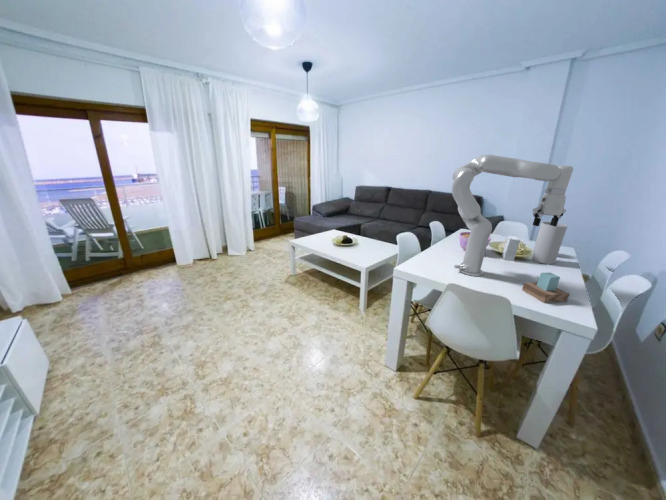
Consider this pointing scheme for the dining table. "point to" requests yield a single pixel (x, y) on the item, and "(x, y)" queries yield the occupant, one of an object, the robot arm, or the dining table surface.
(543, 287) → the teal block
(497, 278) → the dining table surface
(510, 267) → the dining table surface
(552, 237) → the cylinder vase
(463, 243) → the bowl of food
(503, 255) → the skincare box
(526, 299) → the dining table surface
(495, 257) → the dining table surface
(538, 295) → the walnut plinth
